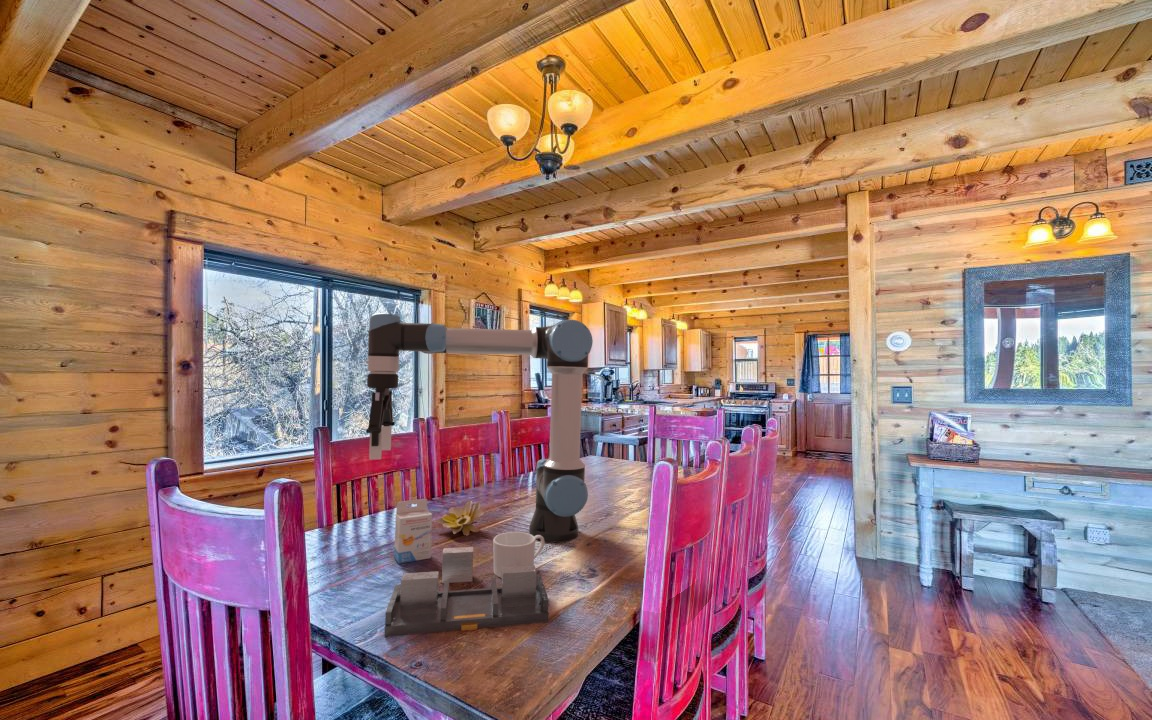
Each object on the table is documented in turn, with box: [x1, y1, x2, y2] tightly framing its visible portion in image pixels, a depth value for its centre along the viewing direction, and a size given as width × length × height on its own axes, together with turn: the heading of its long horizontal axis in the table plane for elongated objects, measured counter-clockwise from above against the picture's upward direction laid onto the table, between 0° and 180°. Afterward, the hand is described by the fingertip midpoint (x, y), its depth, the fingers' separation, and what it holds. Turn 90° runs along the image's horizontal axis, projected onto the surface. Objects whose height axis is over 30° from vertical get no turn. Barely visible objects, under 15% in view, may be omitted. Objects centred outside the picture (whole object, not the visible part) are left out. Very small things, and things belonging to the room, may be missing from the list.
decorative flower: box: [433, 500, 484, 537], centre depth 149 cm, size 15×11×10 cm
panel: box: [441, 546, 474, 584], centre depth 115 cm, size 7×3×7 cm, turn 102°
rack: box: [383, 565, 550, 637], centre depth 99 cm, size 31×14×8 cm, turn 102°
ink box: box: [393, 498, 433, 565], centre depth 127 cm, size 8×5×15 cm, turn 123°
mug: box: [492, 531, 545, 579], centre depth 121 cm, size 13×10×8 cm
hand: (380, 454), depth 125 cm, fingers open, 13 cm apart
